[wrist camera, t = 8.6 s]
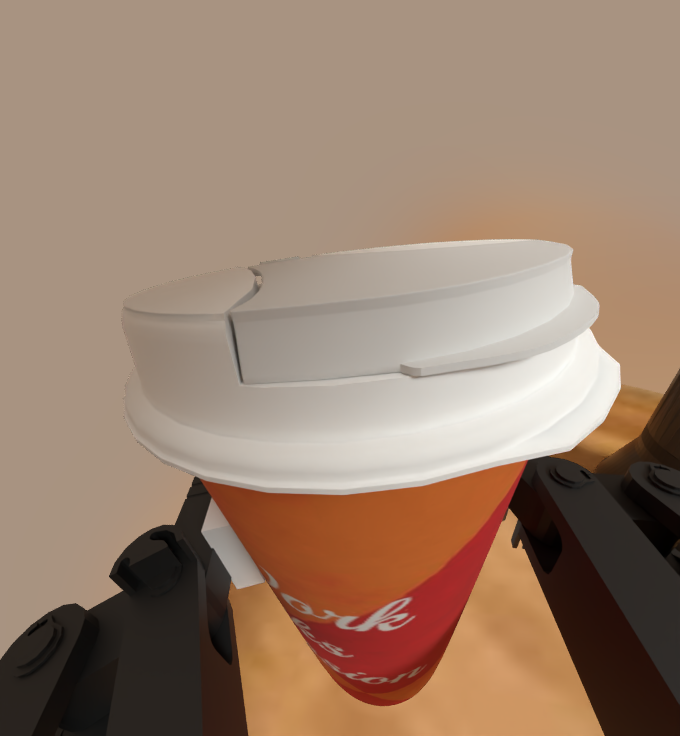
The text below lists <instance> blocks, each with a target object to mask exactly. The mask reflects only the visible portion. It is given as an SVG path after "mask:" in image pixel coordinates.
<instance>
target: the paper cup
mask: <svg viewBox="0 0 680 736" xmlns="http://www.w3.org/2000/svg"><path fill="white" fill-rule="evenodd" d="M572 253H573V249H572V248H571V247H569V246H568V245H565V244H560V243H556V242H550V241H543V240H518V239H517V240H516V239H515V240H514V239H510V240H508V239H507V240H471V241H452V242H436V243H423V244H410V245H400V246H388V247H379V248H369V249H359V250H351V251H343V252H334V253H326V254H319V255H313V256H312V257H306V258H301V259H300V258H299V257H292V258H286V259H279V260H273V261H266V262H260V264H259V265H257V266H251V267H248V269H246V268H242V267H236V268H230V269H226V270H220V271H216V272H210V273H205V274H201V275H196V276H192V277H187V278H183V279H179V280H175V281H171V282H168V283H165V284H161V285H157V286H154V287H151V288H148V289H145V290H142V291H140V292H138V293H135V294H133V295H131V296H129V297H128V298H127V299H125V300H124V308H123V309H122V326H123V330H124V333H125V336H126V339H127V342H128V346H129V349H130V352H131V355H132V358H133V361H134V364H135V368H134V369H133V370H132V372H131V374H130V376H129V378H128V381H127V383H126V385H125V397H124V418H125V420H126V422H127V424H128V426H129V428H130V430H131V432H132V434H133V435H134V437H135V439H136V441H137V442H138V443H139V444H140V445H141V446H143V447H144V448H145V449H146V450H148V451H149V452H150V453H151V454H153V455H154V456H155V457H156V458H158V459H159V460H160V461H161V462H163V463H164V464H167V465H169V466H172V467H174V468H176V469H179V470H181V471H184V472H186V473H189V474H191V475H193V476H196V477H198V478H200V480H201V481H202V483H203V484H204V486H205V487H206V489H207V491H208V492H209V494H210V495H211V497H212V498H213V500H214V501H215V503H216V504H217V506H218V507H219V509H220V510H221V512H222V514H223V515H224V517H225V518H226V520H227V521H228V523H229V524H230V526H231V527H232V529H233V530H234V532H235V533H236V535H237V537H238V538H239V540H240V541H241V543H242V544H243V546H244V547H245V549H246V550H247V552H248V553H249V555H250V556H251V558H252V560H253V561H254V563H255V564H256V566H257V567H258V569H259V570H260V572H261V573H262V575H263V576H264V578H265V580H266V581H267V583H268V584H269V586H270V587H271V589H272V590H273V592H274V593H275V595H276V596H277V598H278V600H279V601H280V603H281V604H282V606H283V607H284V609H285V610H286V612H287V613H288V615H289V616H290V618H291V619H292V621H293V622H294V624H295V625H296V627H297V628H298V630H299V631H300V633H301V634H302V636H303V637H304V639H305V640H306V642H307V644H308V645H309V646H310V648H311V649H312V651H313V652H314V654H315V655H316V657H317V658H318V660H319V661H320V663H321V664H322V665H323V667H324V668H325V669H326V670H327V672H328V673H329V674H330V676H331V677H332V678H333V679H334V680H335V682H336V683H337V684H338V685H339V686H340V687H342V688H343V689H344V690H345V691H346V692H347V693H349V694H350V695H351V696H353V697H355V698H356V699H358V700H360V701H362V702H365V703H368V704H371V705H376V706H390V705H396V704H399V703H402V702H404V701H406V700H408V699H410V698H411V697H413V696H414V695H416V694H417V693H418V692H419V691H420V690H421V689H422V688H423V687H424V686H425V685H426V683H427V682H428V681H429V680H430V678H431V677H432V675H433V674H434V672H435V670H436V668H437V666H438V664H439V662H440V660H441V659H442V657H443V655H444V652H445V650H446V648H447V646H448V644H449V641H450V639H451V637H452V635H453V633H454V630H455V628H456V626H457V624H458V621H459V619H460V617H461V614H462V612H463V610H464V608H465V605H466V603H467V601H468V598H469V596H470V594H471V592H472V589H473V587H474V585H475V582H476V580H477V578H478V575H479V573H480V571H481V568H482V566H483V564H484V561H485V559H486V557H487V554H488V552H489V550H490V547H491V545H492V543H493V540H494V538H495V536H496V533H497V531H498V529H499V526H500V524H501V522H502V519H503V517H504V515H505V512H506V510H507V508H508V505H509V503H510V501H511V499H512V496H513V494H514V492H515V489H516V487H517V485H518V482H519V480H520V478H521V475H522V473H523V471H524V468H525V466H526V464H527V461H528V460H529V459H534V458H539V457H543V456H548V455H553V454H558V453H562V452H567V451H570V450H572V449H573V448H574V447H575V446H576V445H577V444H578V443H580V442H581V441H582V440H583V439H584V438H585V437H586V436H588V435H589V434H590V433H591V432H592V431H593V430H594V429H596V428H597V427H598V426H599V425H600V424H601V423H603V422H604V420H605V418H606V416H607V414H608V412H609V410H610V408H611V406H612V404H613V403H614V401H615V399H616V397H617V395H618V393H619V391H620V388H621V384H620V364H619V363H618V362H616V360H614V359H613V358H612V357H611V356H610V355H609V354H608V353H607V352H605V351H604V350H603V349H602V348H601V347H600V346H599V345H598V344H597V342H596V340H595V337H594V335H593V333H592V331H591V330H590V329H589V327H590V326H591V325H592V324H593V323H594V322H595V320H596V319H597V317H598V315H599V302H598V301H597V300H596V298H595V297H594V296H593V295H592V294H591V293H589V292H588V291H587V290H586V289H585V288H584V287H582V286H579V285H573V280H572V268H571V256H572ZM255 276H261V277H262V283H263V284H259V285H257V282H256V278H255Z"/></svg>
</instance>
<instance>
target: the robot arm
mask: <svg viewBox="0 0 680 736" xmlns="http://www.w3.org/2000/svg"><path fill="white" fill-rule="evenodd" d="M508 509H510V510H511V511H512V512H513V513H514V515H515V516H516V517H517V518H518V521H517V524H516V527H515V530H514V533H513V536H512V539H511V542H512V547H513V548H517V546H518V544H519V541H520V539H521V541H522V544H523V546H522V548H523V549H525V551H526V553H527V555H528V558H529V560H530V562H531V565H532V567H533V569H534V572H535V574H536V576H537V579H538V581H539V583H540V586H541V588H542V590H543V593H544V595H545V597H546V600H547V602H548V604H549V607H550V609H551V611H552V614H553V616H554V618H555V621H556V623H557V625H558V628H559V630H560V632H561V635H562V637H563V639H564V642H565V644H566V647H567V649H568V651H569V654H570V656H571V658H572V661H573V663H574V665H575V668H576V670H577V672H578V675H579V677H580V679H581V682H582V684H583V686H584V689H585V691H586V693H587V696H588V698H589V700H590V703H591V705H592V707H593V710H594V712H595V714H596V717H597V719H598V721H599V724H600V726H601V728H602V731H603V733H604V735H605V736H680V369H679V371H678V373H677V374H676V376H675V378H674V379H673V381H672V383H671V384H670V386H669V388H668V389H667V391H666V393H665V394H664V396H663V398H662V399H661V401H660V403H659V404H658V406H657V408H656V409H655V411H654V413H653V414H652V416H651V418H650V419H649V421H648V423H647V425H646V427H645V428H644V430H643V432H642V433H641V435H640V436H639V437H637V438H636V439H634V440H633V441H631V442H630V443H628V444H627V445H625V446H624V447H622V448H621V449H619V450H618V451H616V452H615V453H613V454H612V455H611V456H609V457H607V458H605V459H604V460H603V461H601V462H600V463H599V465H598V466H597V467H596V469H595V471H594V473H591V472H589V471H588V470H587V469H585V468H583V467H582V466H580V465H578V464H576V463H573V462H571V461H568V460H565V459H560V458H554V457H553V458H551V457H549V456H543V457H539V458H534V459H529V460H528V461H527V464H526V466H525V468H524V471H523V473H522V475H521V478H520V480H519V482H518V485H517V487H516V489H515V492H514V494H513V496H512V499H511V501H510V503H509V505H508V508H507V510H506V512H505V515H504V517H503V519H502V521H504V520H505V519H506V516H507V512H508ZM109 577H110V578H111V579H112V580H113V581H114V582H115V583H116V584H117V585H118V586H119V587H120V588H121V589H123V590H124V591H122V592H120V593H118V594H117V595H115V596H113V597H111V598H109V599H107V600H106V601H104V602H102V603H100V604H98V605H97V606H95V607H93V608H91V609H90V610H88V611H87V610H85V609H84V608H83V607H81V606H79V605H78V604H76V603H75V604H68V605H63V606H61V607H59V608H57V609H55V610H53V611H51V612H48V613H47V614H46V615H44V616H43V617H42V618H41V619H39V620H38V621H36V622H35V623H34V624H32V625H31V626H30V627H29V628H28V629H27V630H26V631H25V632H24V633H23V634H22V635H21V636H20V637H19V638H18V639H17V640H16V641H15V642H14V643H13V644H12V645H11V646H10V648H9V649H8V650H7V652H6V653H5V654H4V656H3V657H2V658H1V660H0V736H248V730H247V722H246V714H245V706H244V698H243V690H242V683H241V675H240V667H239V659H238V651H237V643H236V635H235V627H234V619H233V611H232V607H231V604H230V601H229V599H228V595H229V589H230V584H231V580H232V582H233V584H234V585H235V587H236V588H237V589H240V588H244V587H248V586H252V585H256V584H260V583H264V582H265V578H264V576H263V575H262V573H261V572H260V570H259V569H258V567H257V566H256V564H255V563H254V561H253V560H252V558H251V556H250V555H249V553H248V552H247V550H246V549H245V547H244V546H243V544H242V543H241V541H240V540H239V538H238V537H237V535H236V533H235V532H234V530H233V529H232V527H231V526H230V524H229V523H228V521H227V520H226V518H225V517H224V515H223V514H222V512H221V510H220V509H219V507H218V506H217V504H216V503H215V501H214V500H213V498H212V497H211V495H210V494H209V492H208V491H207V489H206V487H205V486H204V484H203V483H202V481H201V480H200V478H198V477H196V476H195V477H194V480H193V482H192V487H190V489H189V492H188V494H187V499H185V502H184V504H183V506H182V509H181V511H180V514H179V516H178V519H177V521H176V523H175V525H162V526H159V527H156V528H153V529H151V530H149V531H147V532H146V533H144V534H143V535H141V536H139V537H138V538H137V539H136V540H135V541H133V542H132V543H131V544H130V545H129V546H128V547H127V548H126V549H125V550H124V551H123V553H122V554H121V555H120V557H119V558H118V559H117V561H116V562H115V564H114V566H113V568H112V571H111V573H110V575H109Z"/></svg>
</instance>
